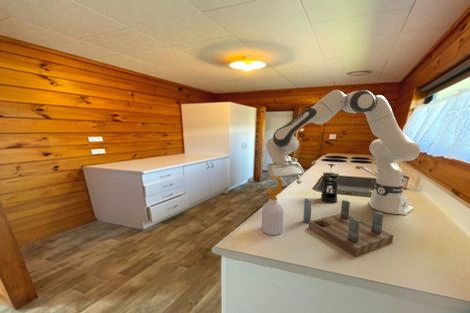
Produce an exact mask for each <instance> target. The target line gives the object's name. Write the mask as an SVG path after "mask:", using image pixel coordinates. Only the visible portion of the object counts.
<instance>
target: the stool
mask: <svg viewBox="0 0 470 313" xmlns="http://www.w3.org/2000/svg"><path fill="white" fill-rule="evenodd" d="M350 203H351V202H350V200H346V199H345V200H344V199H343V200H341V206H340V207H341V208H340V213H338V214H334V215H331V216H330V215H329V216H327V217H321V218H318V219H314V220H311V221H309V223H308V229H309V230H311V231H312V232H315V234H318V235H319V236H321V237H323V238H324V239H325V240H328V241H329V242H330V243H332V244H334V245H335V246H338V247H339V248H340V249H342V250H344V251H345V252H347V253H349V254H350V255H353V257H358V256H360V255H364V254H366V253H368V252H371V251H374V250H376V249H379V248H381V247H385V246H386V245H389V244H391V243H393V242H394V241H393V240H394V234H393V233H389V232H387V231H385V230H382V229H383V223H384V222H383V221H384V220H383V218H384V213H383V212H381V211H372V220H371V221H372V223H371V225H370V224H369V223H367V222H364V221H363V220H360V219H358V218H355V217H352V216H350V215H349V214H350V205H351V204H350Z"/></svg>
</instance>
